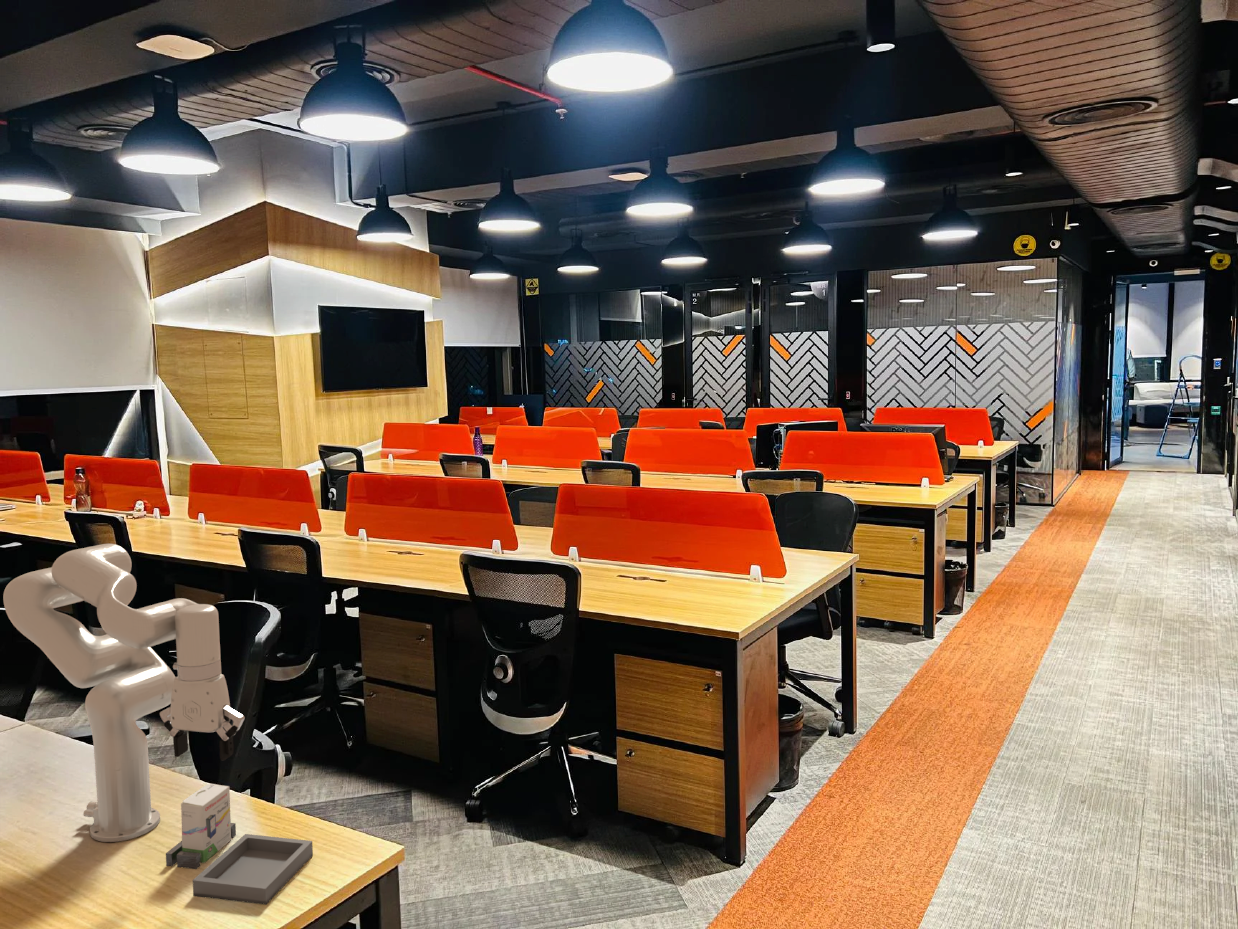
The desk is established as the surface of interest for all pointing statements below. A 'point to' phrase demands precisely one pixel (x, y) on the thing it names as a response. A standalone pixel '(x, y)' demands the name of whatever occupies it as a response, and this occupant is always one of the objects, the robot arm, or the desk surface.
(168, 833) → the desk surface
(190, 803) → the ink box
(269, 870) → the tray
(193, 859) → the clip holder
